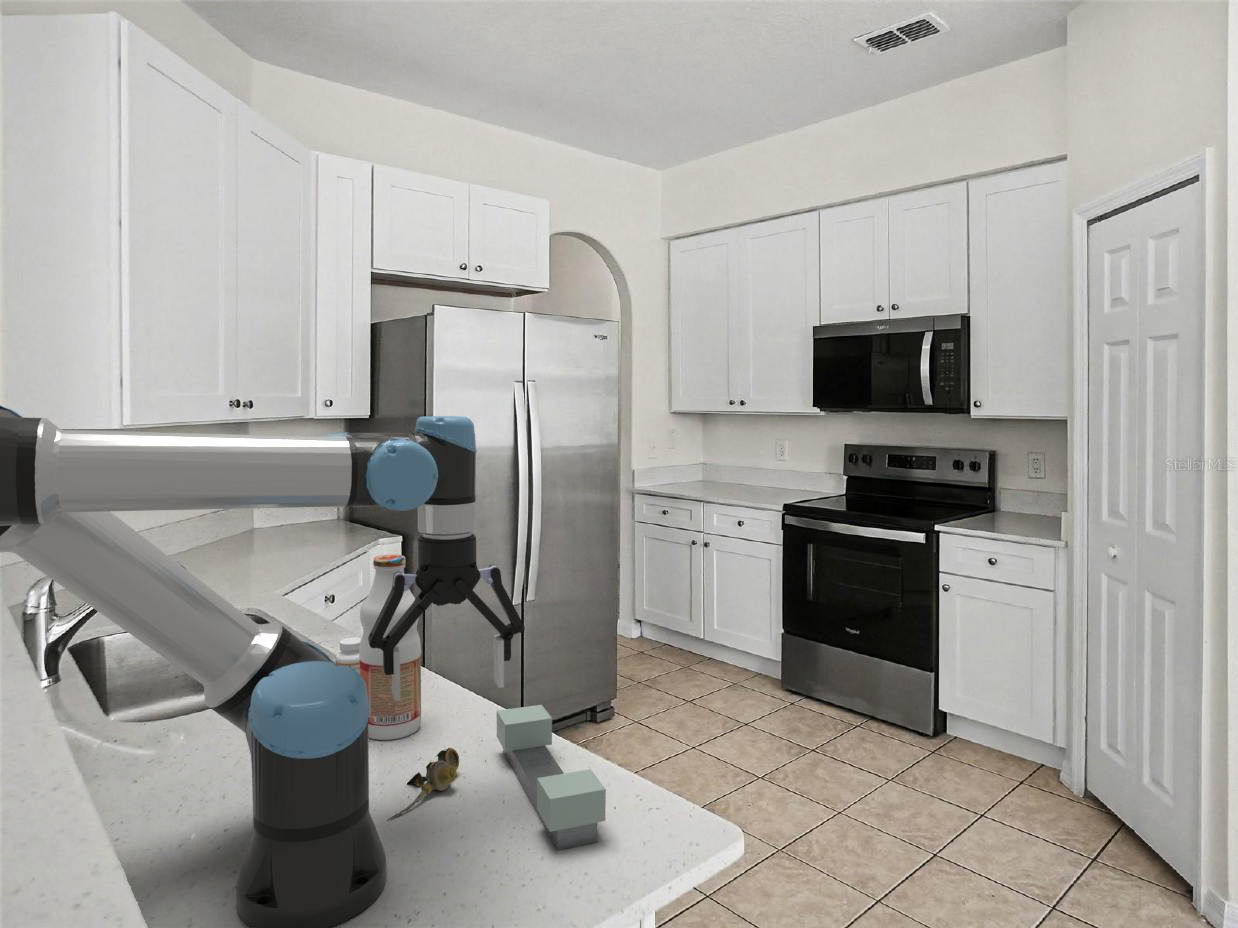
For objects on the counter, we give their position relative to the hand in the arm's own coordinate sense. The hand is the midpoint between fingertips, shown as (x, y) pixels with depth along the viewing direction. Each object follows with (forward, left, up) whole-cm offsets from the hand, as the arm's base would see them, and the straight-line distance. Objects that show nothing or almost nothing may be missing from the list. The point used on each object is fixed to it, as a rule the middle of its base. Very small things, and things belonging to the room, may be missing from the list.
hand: (448, 690), depth 106 cm
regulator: (-3, +1, -15) cm, 15 cm away
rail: (+12, -4, -14) cm, 19 cm away
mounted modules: (+12, -4, -12) cm, 17 cm away
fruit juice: (-5, +24, -14) cm, 28 cm away
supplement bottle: (-10, +42, -14) cm, 46 cm away
